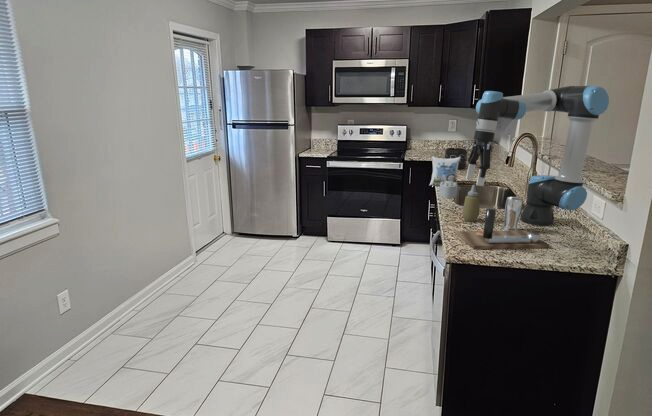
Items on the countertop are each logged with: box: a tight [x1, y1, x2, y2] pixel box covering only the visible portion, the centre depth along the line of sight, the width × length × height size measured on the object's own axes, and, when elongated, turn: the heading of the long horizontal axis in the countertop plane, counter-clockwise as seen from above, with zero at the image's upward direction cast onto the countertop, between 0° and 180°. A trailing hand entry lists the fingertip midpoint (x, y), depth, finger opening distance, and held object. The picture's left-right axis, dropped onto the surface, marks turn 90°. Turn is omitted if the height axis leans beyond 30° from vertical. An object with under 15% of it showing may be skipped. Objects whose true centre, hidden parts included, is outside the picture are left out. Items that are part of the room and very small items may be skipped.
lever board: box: [456, 229, 550, 250], centre depth 181 cm, size 32×20×2 cm, turn 95°
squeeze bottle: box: [462, 184, 481, 223], centre depth 206 cm, size 8×8×18 cm
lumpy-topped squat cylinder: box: [438, 181, 459, 199], centre depth 255 cm, size 10×13×9 cm
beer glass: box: [503, 196, 524, 231], centre depth 193 cm, size 7×7×15 cm
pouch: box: [428, 156, 461, 186], centre depth 279 cm, size 8×19×20 cm, turn 86°
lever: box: [483, 207, 542, 243], centre depth 173 cm, size 24×5×14 cm, turn 95°
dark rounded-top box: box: [444, 147, 469, 171], centre depth 345 cm, size 18×18×16 cm
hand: (474, 182), depth 174 cm, fingers open, 13 cm apart
